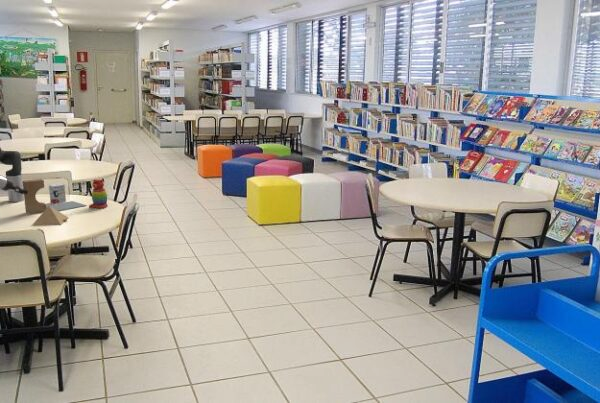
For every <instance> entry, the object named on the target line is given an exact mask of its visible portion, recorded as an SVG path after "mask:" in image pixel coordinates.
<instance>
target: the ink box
mask: <svg viewBox="0 0 600 403" xmlns="http://www.w3.org/2000/svg"><path fill="white" fill-rule="evenodd" d="M48 189H49V200H50V204H52V205H54V204H59V203H65V202H67V199H66V198H67V197H66V186H65V184H63V183H56V184H55V183H53V184H49V185H48Z"/></svg>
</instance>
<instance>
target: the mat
mask: <svg viewBox="0 0 600 403" xmlns="http://www.w3.org/2000/svg"><path fill="white" fill-rule="evenodd" d="M48 206H51V207H52V208H54V209H55V210H57V211H59V212H63V211H68V210H72V209H78V208H82V207H87V204H83V203H80V202H77V201H73V200H72V201H71V200H70V201H66V202H61V203H55V204H50V205H46V207H47V208H48Z"/></svg>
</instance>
